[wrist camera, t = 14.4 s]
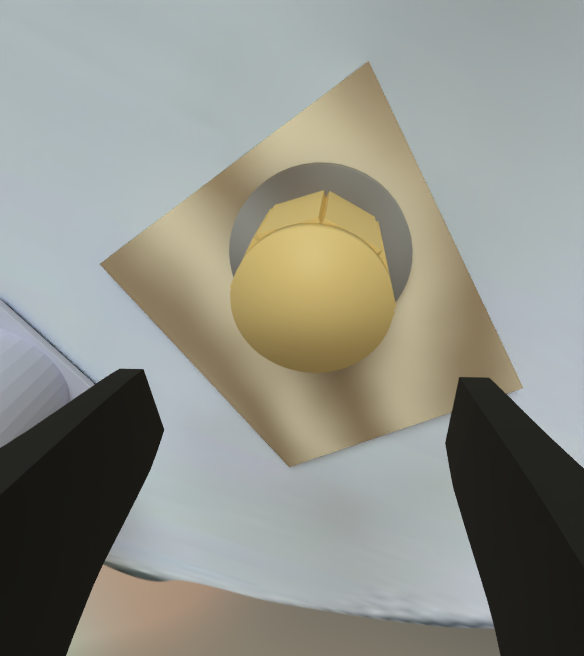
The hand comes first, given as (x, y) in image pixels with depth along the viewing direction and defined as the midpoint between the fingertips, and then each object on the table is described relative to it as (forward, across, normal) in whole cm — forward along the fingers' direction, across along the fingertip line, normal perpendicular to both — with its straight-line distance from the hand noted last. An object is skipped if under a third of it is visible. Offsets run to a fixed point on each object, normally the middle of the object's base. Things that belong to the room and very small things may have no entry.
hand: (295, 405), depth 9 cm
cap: (+8, 0, 0) cm, 8 cm away
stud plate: (+10, 0, +4) cm, 11 cm away
